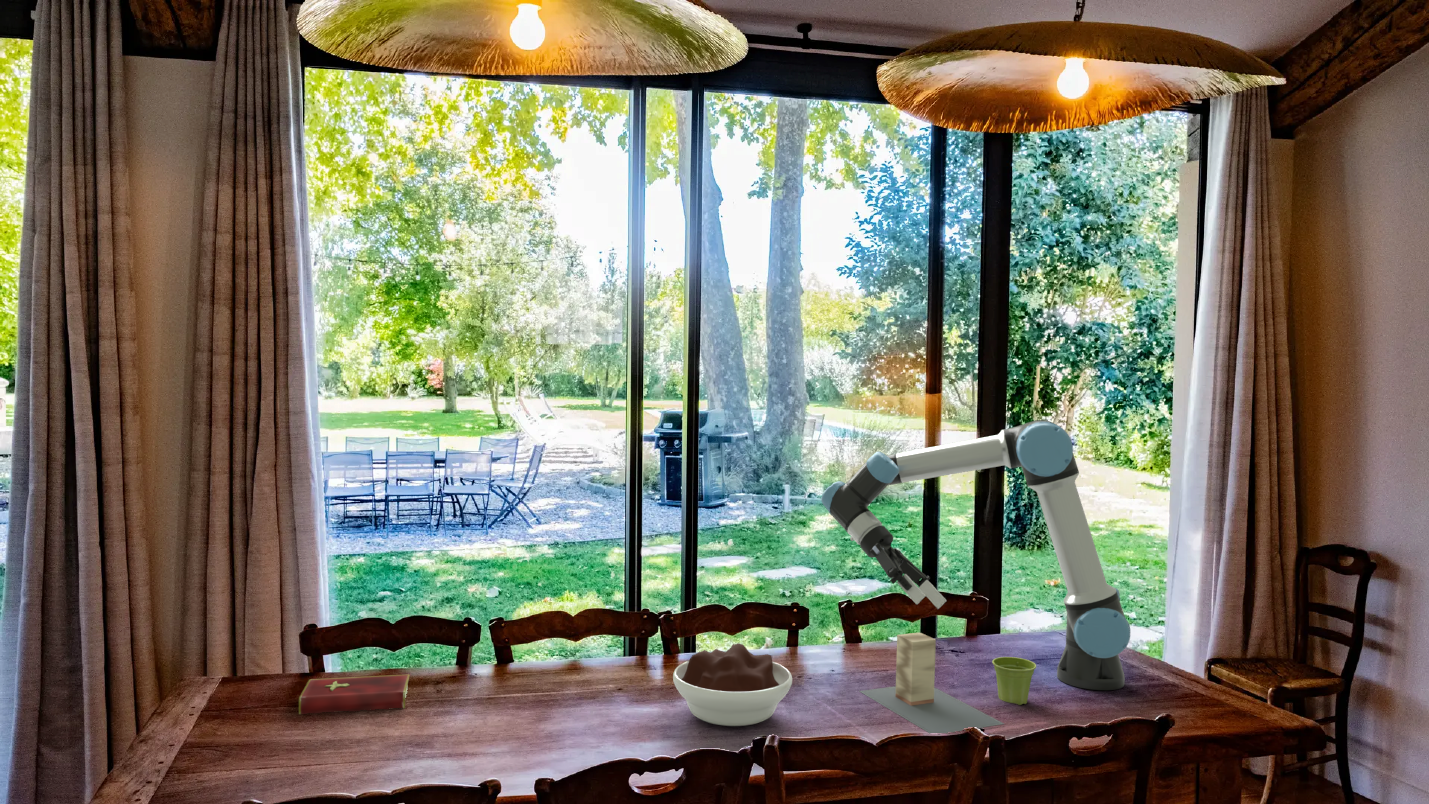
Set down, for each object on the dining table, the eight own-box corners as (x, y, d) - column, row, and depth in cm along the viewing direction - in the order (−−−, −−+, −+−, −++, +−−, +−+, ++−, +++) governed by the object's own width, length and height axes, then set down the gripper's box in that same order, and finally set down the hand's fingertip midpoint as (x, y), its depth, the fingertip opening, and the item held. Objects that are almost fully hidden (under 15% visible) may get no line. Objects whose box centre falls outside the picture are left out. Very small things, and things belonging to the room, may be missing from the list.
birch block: (895, 696, 218) (897, 634, 218) (917, 693, 221) (919, 632, 220) (911, 705, 213) (912, 642, 212) (933, 702, 215) (935, 639, 214)
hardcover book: (404, 710, 206) (405, 691, 206) (298, 716, 202) (298, 696, 201) (409, 691, 218) (409, 673, 218) (309, 697, 213) (309, 678, 213)
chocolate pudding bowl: (796, 741, 193) (798, 666, 192) (669, 739, 192) (671, 663, 192) (786, 698, 218) (787, 631, 217) (674, 696, 217) (675, 629, 217)
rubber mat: (858, 693, 222) (858, 691, 221) (924, 684, 229) (924, 682, 229) (932, 738, 196) (933, 735, 196) (1004, 726, 203) (1004, 723, 203)
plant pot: (1037, 710, 213) (1038, 671, 213) (992, 706, 215) (994, 667, 215) (1032, 696, 222) (1033, 658, 222) (989, 692, 224) (990, 655, 224)
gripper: (880, 552, 241) (939, 617, 229) (837, 540, 220) (899, 610, 209) (901, 531, 239) (961, 595, 228) (860, 516, 219) (923, 585, 207)
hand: (931, 602), depth 218 cm, fingers open, 13 cm apart
